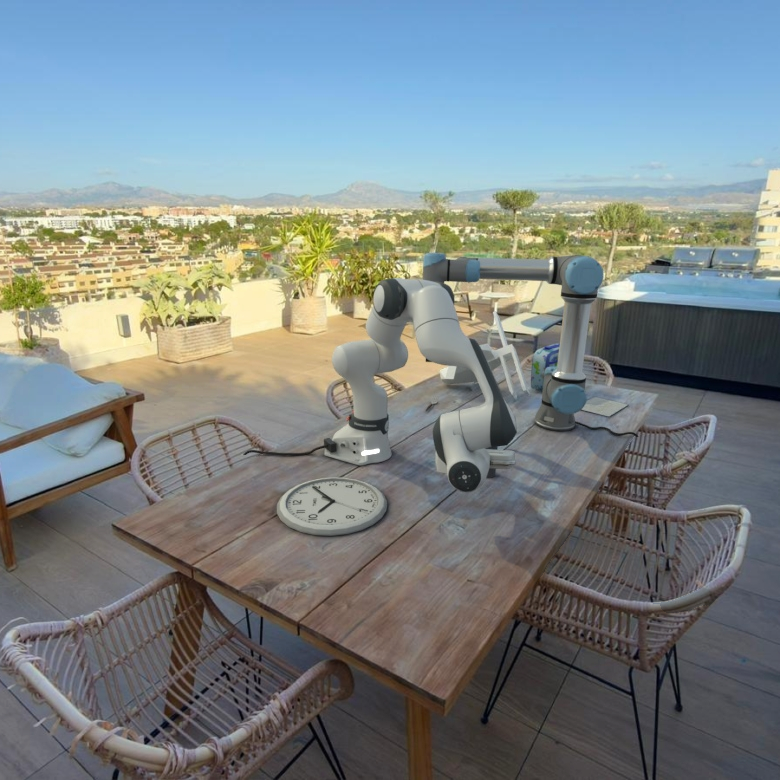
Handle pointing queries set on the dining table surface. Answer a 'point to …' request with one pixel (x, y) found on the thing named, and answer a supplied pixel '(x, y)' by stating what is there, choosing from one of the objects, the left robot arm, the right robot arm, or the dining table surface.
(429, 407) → the fork
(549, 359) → the lunch box
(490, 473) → the dark grey cylinder
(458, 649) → the dining table surface
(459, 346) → the left robot arm
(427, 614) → the dining table surface
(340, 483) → the wall clock
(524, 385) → the white plastic object
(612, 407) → the invitation card
